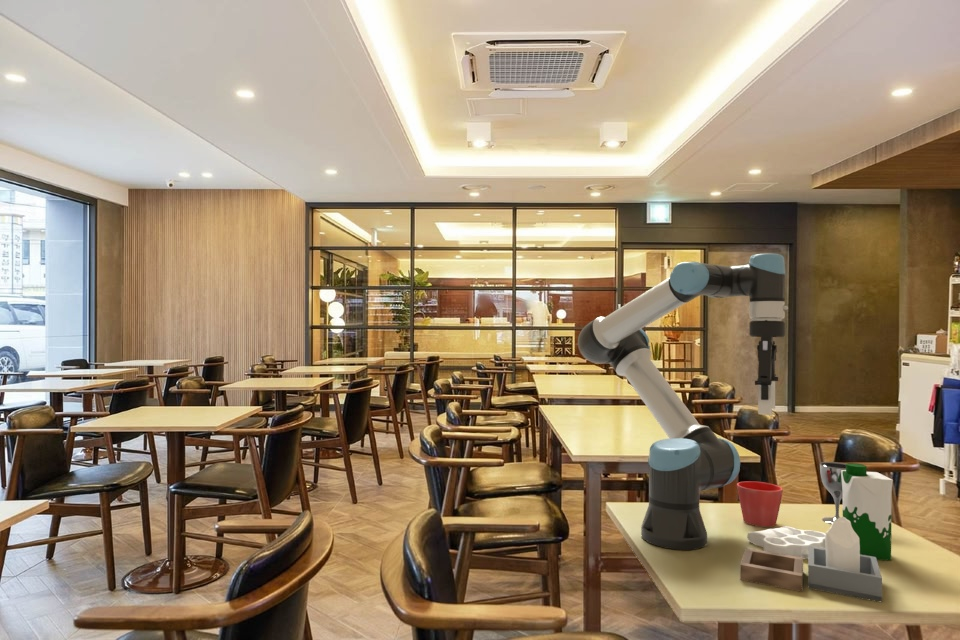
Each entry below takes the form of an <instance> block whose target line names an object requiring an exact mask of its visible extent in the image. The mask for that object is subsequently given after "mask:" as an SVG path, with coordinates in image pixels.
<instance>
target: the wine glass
mask: <svg viewBox="0 0 960 640" xmlns="http://www.w3.org/2000/svg"><path fill="white" fill-rule="evenodd" d="M846 464H847V463H844V462H837V461H823V462H822V461H821V462H820V463H819V470H820V479H821V482H822V485H823V486H824V488H825V489H826V490H827V491H828V492H829V493H830V494H831V496H832V498H833V501H834V506H835V515H834V516H825V517H822V518H821V520H822V521H823V522H824V523H826V524H831V525H832V524H833V522H834V521H835V520H836V519H838V518H840V517H841V516H840V504H841V500H842V499H843V490H842V478H841V470H846Z"/></svg>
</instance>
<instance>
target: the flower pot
mask: <svg viewBox="0 0 960 640" xmlns="http://www.w3.org/2000/svg"><path fill="white" fill-rule="evenodd" d="M736 487H737V494H738V500H739V504H740V510H741V514H742V519H743V522H744V521H745V522H744V523H746V524H749V525H751V526H754V525H755V527H762V528H770V527H774V526H776V525H777V520H778V517H779V512H780V508H781V502H782V498H783V491H784V489H783V488H782V486H779V485H777V484H773V483H770V482H763V481H753V480H752V481H750V480H749V481H740V482H738V483H736Z"/></svg>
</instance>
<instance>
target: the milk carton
mask: <svg viewBox="0 0 960 640" xmlns="http://www.w3.org/2000/svg"><path fill="white" fill-rule="evenodd" d="M845 464H846V470H841V478H842V490H843V497H842V517H845V518H846V519H847V520H849V521H850V522H851V526H852V528H853V530H854V531H855V533H856V534H857V535H858V537H859V543H860V555H866V556H872V557H876V559H877V561H879V560H880V561H890V562H891V561H892V491H893V481H894V480H893V479H892V478H890V477H887V476H886V475H884V474H882V473H879V472H877V471H867V465H865V464H861V463H853V462H849V463H845Z"/></svg>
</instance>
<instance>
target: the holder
mask: <svg viewBox="0 0 960 640" xmlns="http://www.w3.org/2000/svg"><path fill="white" fill-rule="evenodd" d="M739 573H740V574H739V577H740V578H739V579H740V580H741V581H746V582H749V583H750V582H751V583H756V584H760V585H764V586H771V587H776V588H781V589H786V590H791V591H796V592H802V593H803V585H804V584H803V582H804V581H803V580H804V559H803V558H802V557H796V556H791V555H785V554H779V553H773V552H767V551H763V550H760V549H756V548H755V549H754V548H751V547H745V549H744V552H743V555H742V558H741V561H740V571H739Z"/></svg>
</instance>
